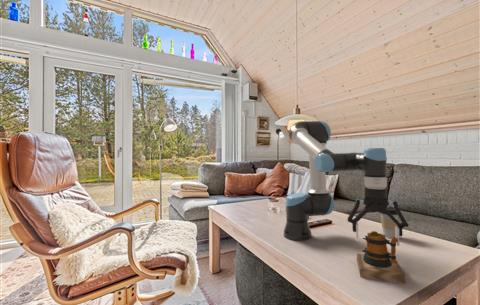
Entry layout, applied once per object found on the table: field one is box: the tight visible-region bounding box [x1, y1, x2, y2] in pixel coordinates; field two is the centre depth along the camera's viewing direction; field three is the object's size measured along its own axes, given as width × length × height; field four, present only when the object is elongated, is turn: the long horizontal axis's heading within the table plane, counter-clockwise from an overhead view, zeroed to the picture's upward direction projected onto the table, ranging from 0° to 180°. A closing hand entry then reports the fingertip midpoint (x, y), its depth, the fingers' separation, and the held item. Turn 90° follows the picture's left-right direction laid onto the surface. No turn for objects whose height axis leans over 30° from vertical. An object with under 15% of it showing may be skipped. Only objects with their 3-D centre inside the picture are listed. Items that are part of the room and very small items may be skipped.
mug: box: [361, 230, 398, 268], centre depth 89 cm, size 13×10×12 cm
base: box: [356, 253, 407, 284], centre depth 89 cm, size 14×14×3 cm
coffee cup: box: [379, 206, 399, 240], centre depth 125 cm, size 9×9×15 cm
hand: (376, 242), depth 90 cm, fingers open, 13 cm apart
